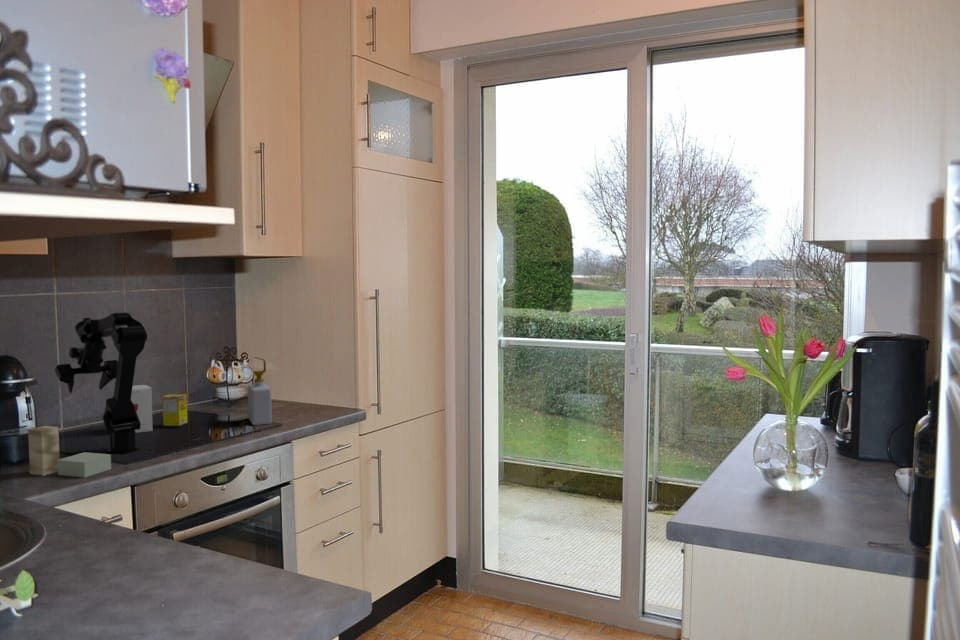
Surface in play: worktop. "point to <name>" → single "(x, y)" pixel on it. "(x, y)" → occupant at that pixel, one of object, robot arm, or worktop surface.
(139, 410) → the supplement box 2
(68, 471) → the riser block
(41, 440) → the maple block
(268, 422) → the soap bottle
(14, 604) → the worktop surface
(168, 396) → the supplement box
